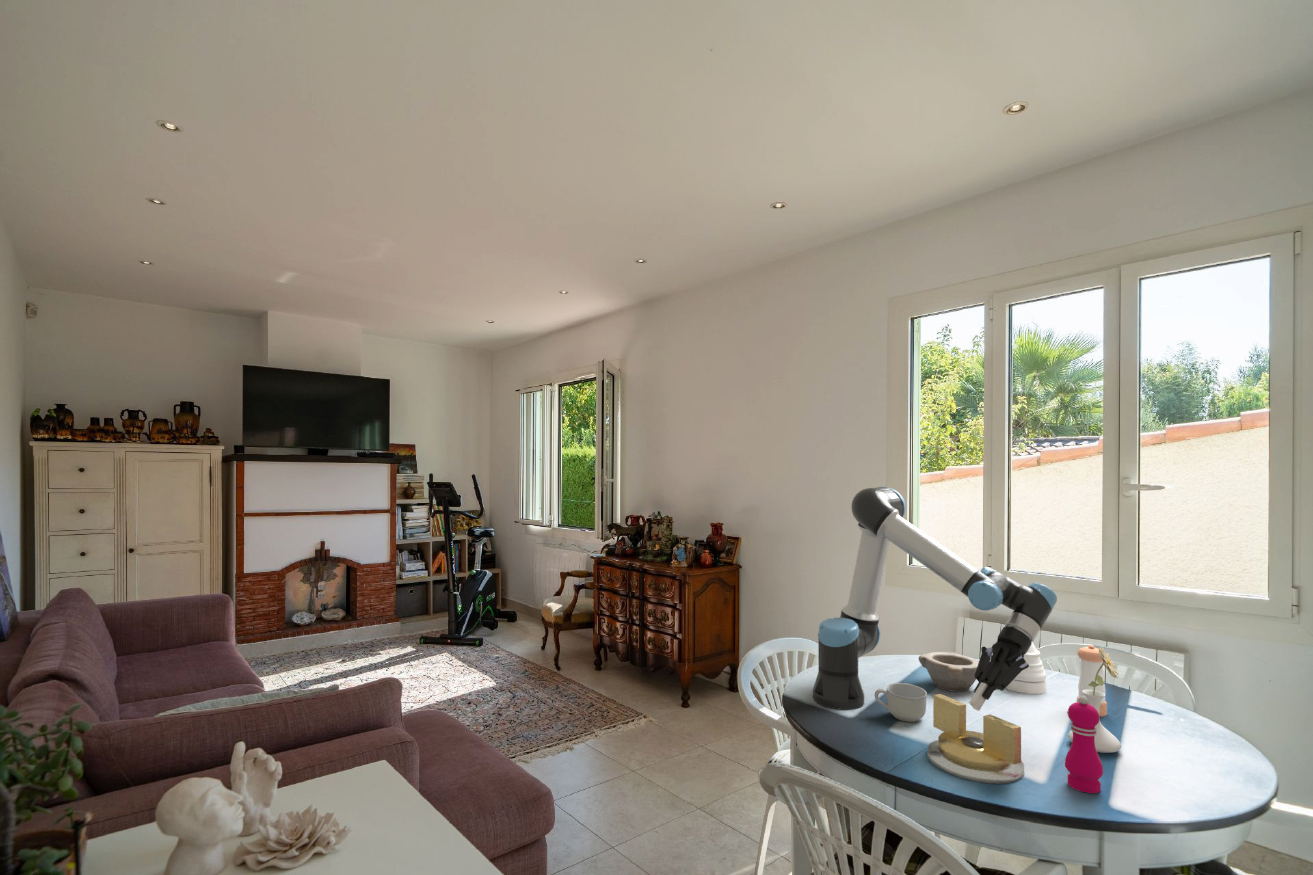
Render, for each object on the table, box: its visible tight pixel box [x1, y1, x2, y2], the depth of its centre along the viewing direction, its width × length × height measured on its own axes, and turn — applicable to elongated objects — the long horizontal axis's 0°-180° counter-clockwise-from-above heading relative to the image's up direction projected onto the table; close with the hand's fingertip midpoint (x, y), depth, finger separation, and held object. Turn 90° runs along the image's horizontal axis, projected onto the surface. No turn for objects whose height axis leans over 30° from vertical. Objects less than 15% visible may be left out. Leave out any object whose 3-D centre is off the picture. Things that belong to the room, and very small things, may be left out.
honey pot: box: [1005, 641, 1047, 695], centre depth 217 cm, size 13×13×18 cm
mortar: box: [918, 651, 979, 692], centre depth 216 cm, size 17×17×9 cm
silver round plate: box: [927, 739, 1025, 785], centre depth 162 cm, size 21×21×2 cm
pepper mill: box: [1064, 696, 1104, 794], centre depth 150 cm, size 7×7×20 cm
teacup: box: [874, 682, 928, 723], centre depth 190 cm, size 14×11×8 cm
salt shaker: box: [1076, 644, 1108, 717], centre depth 196 cm, size 7×7×19 cm
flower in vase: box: [1067, 647, 1122, 754], centre depth 172 cm, size 13×11×25 cm
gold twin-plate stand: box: [932, 693, 1022, 770], centre depth 162 cm, size 18×17×10 cm
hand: (974, 706), depth 172 cm, fingers closed
